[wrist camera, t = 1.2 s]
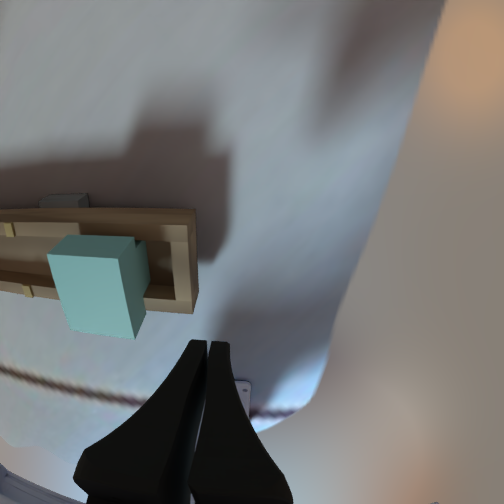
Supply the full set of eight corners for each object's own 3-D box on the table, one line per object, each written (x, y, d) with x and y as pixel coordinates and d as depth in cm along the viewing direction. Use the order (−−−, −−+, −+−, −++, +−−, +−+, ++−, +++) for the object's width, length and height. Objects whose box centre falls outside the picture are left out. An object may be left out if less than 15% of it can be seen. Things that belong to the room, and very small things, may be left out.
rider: (155, 293, 21) (135, 339, 17) (98, 288, 21) (70, 329, 17) (146, 221, 18) (117, 258, 14) (84, 219, 18) (46, 254, 14)
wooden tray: (202, 285, 24) (192, 322, 20) (3, 268, 23) (-22, 292, 20) (199, 193, 20) (185, 218, 16) (-16, 198, 20) (-46, 217, 16)
